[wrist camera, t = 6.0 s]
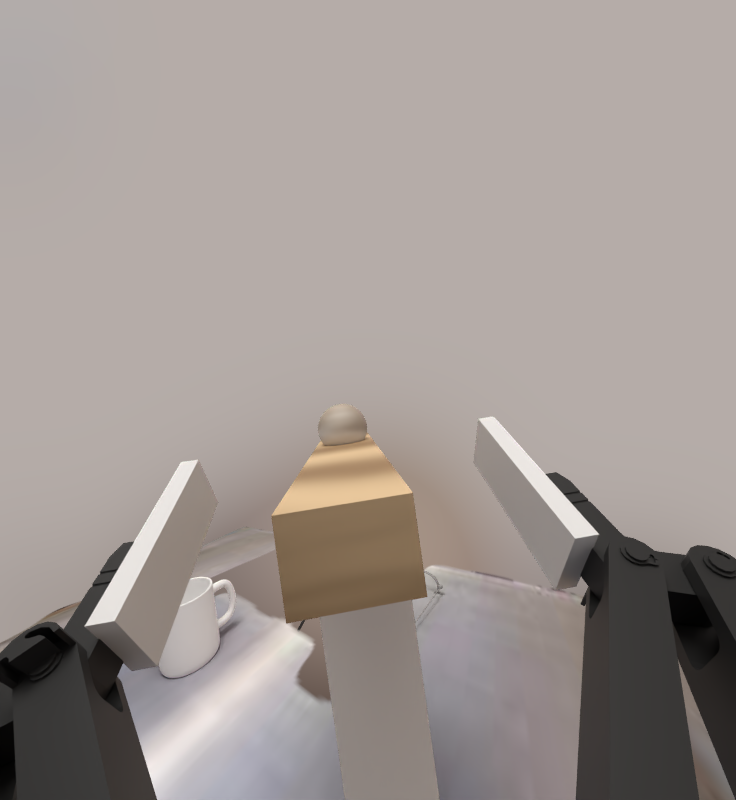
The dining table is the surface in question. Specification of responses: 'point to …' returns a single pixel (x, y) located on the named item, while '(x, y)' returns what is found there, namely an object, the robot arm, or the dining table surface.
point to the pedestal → (379, 704)
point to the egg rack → (346, 527)
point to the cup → (195, 628)
